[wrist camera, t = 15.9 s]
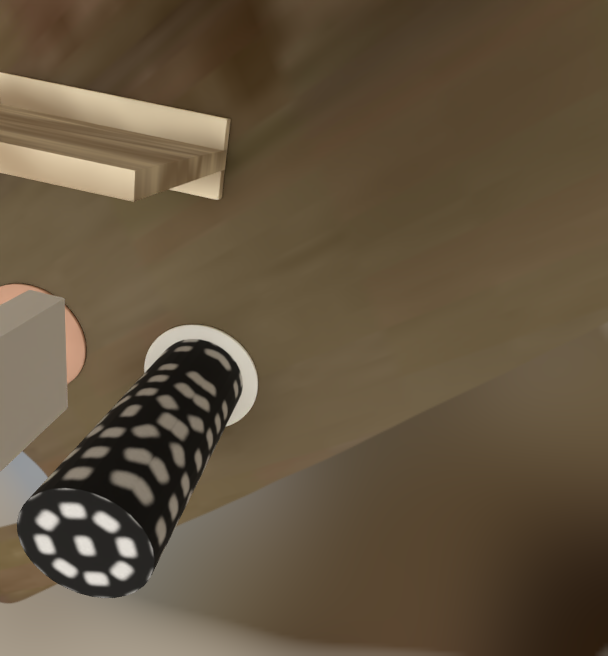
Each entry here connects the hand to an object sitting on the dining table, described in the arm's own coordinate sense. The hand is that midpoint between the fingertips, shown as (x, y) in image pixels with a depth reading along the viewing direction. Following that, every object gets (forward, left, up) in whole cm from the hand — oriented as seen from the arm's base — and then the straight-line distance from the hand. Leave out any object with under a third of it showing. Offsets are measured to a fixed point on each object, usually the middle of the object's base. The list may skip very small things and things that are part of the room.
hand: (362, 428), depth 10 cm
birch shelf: (-1, -21, -31) cm, 38 cm away
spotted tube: (+19, -12, -31) cm, 39 cm away
